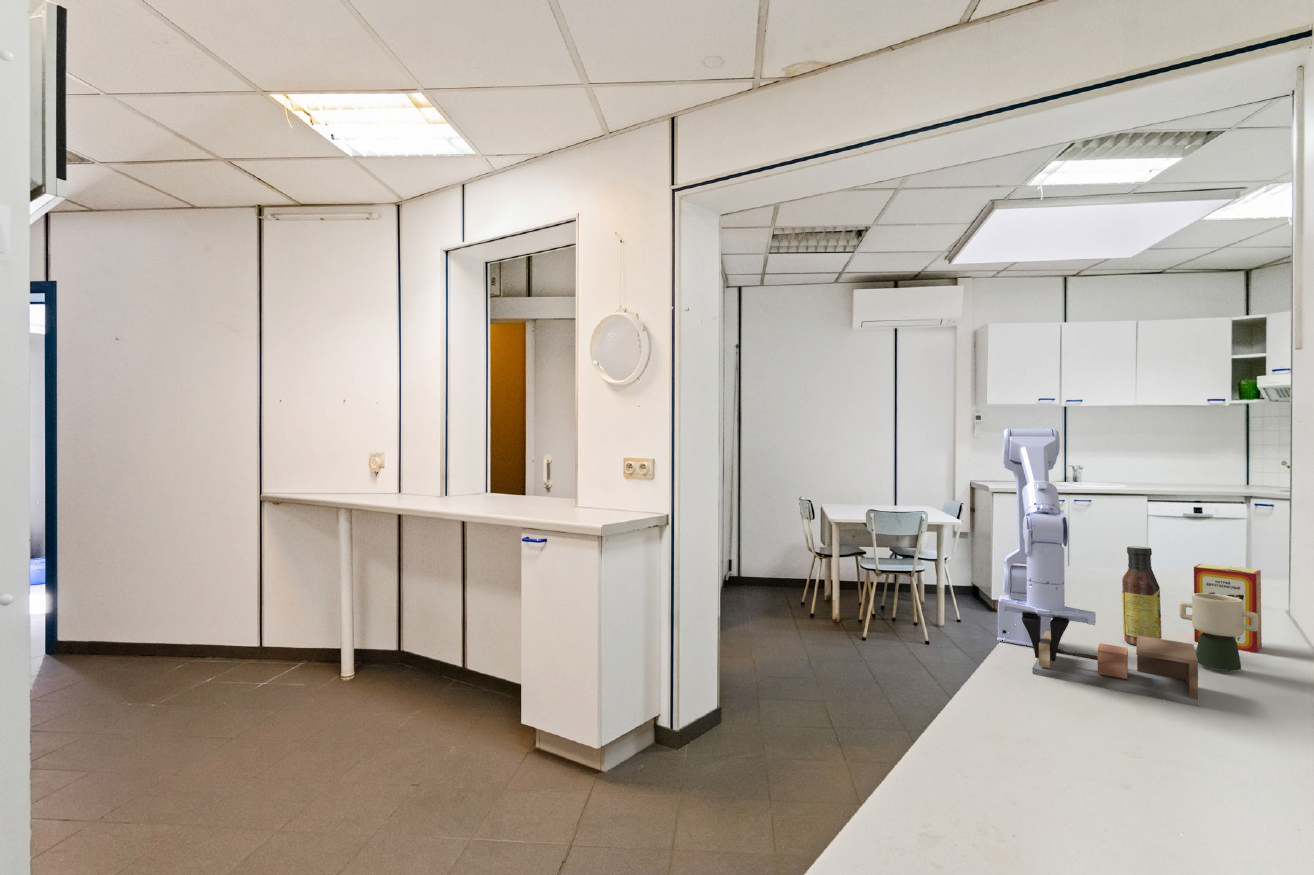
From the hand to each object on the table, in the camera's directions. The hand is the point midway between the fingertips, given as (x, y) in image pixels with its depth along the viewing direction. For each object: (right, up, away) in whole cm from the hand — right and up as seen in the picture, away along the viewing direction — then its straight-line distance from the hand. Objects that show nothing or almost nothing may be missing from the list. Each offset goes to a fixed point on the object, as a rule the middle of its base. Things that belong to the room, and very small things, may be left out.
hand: (1045, 658), depth 110 cm
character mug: (+33, -3, +3) cm, 33 cm away
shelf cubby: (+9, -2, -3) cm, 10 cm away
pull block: (+6, -1, -1) cm, 6 cm away
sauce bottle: (+31, -4, +18) cm, 36 cm away
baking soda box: (+49, -4, +18) cm, 53 cm away
